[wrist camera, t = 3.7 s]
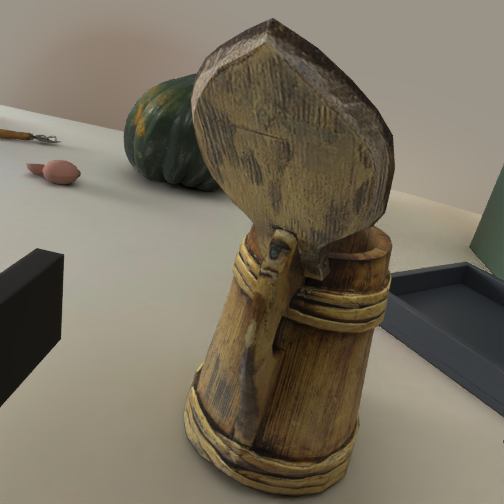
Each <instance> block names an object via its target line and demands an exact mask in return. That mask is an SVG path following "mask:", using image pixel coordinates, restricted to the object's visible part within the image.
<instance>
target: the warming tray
mask: <svg viewBox="0 0 504 504" xmlns="http://www.w3.org/2000/svg"><path fill="white" fill-rule="evenodd" d="M390 275H391V283H390V289H389V294H388V300H387V307H386V311H385V315H384V320H383V321H382V322H381V323H380V324H379V325H380V326H381V327H382V328H384V329H385V330H387V331H388V332H389V333H391V334H392V335H393V336H395V337H396V338H398V339H399V340H400V341H402V342H403V343H404V344H406V345H407V346H408V347H410V348H411V349H413V350H414V351H415V352H417V353H418V354H419V355H421V356H422V357H423V358H425V359H426V360H428V361H429V362H430V363H432V364H433V365H434V366H436V367H437V368H438V369H440V370H441V371H443V372H444V373H445V374H447V375H448V376H449V377H451V378H452V379H453V380H455V381H456V382H458V383H459V384H460V385H462V386H463V387H464V388H466V389H467V390H468V391H470V392H471V393H473V394H474V395H475V396H477V397H478V398H479V399H481V400H482V401H483V402H485V403H486V404H488V405H489V406H490V407H492V408H493V409H494V410H496V411H497V412H498V413H500V414H501V415H503V416H504V280H502V279H500V278H498V277H496V276H494V275H492V274H490V273H488V272H486V271H484V270H482V269H480V268H478V267H476V266H474V265H472V264H470V263H468V262H461V263H454V264H448V265H441V266H435V267H428V268H422V269H415V270H408V271H402V272H395V273H390Z"/></svg>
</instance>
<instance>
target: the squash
mask: <svg viewBox="0 0 504 504" xmlns="http://www.w3.org/2000/svg"><path fill="white" fill-rule="evenodd" d="M195 76H196V74H192V75H188V76H185V77H181V78H178V79H172V80H169V81H166V82H163V83H160V84H159V85H157V86H155V87H153V88H151V89H149V90H148V91H147V92H146V93H144V94H143V95H142V96H141V97H140V98H139V100H138V101H137V103H136V104H135V106H134V107H133V109H132V110H131V112H130V113H129V115H128V118H127V120H126V125H125V130H124V148H125V152H126V155H127V157H128V160H129V162H130V163H131V165H132V166H133V167H134V168H135V169H136V170H137V171H138V172H140V173H141V174H142V175H143V176H145V177H146V178H147V179H149V180H151V181H157V182H158V181H159V182H162V181H165V180H166V181H167V182H168V183H171V184H177V183H179V182H180V181H181V183H182V184H183V185H185V186H190V187H191V186H192V187H194V188H196V189H198V190H202V191H213V190H216V189H218V188H220V186H219V184H218V183H217V182H216V181H215V179H214V178H213V177H212V175H211V173H210V171H209V169H208V168H207V166H206V164H205V162H204V160H203V157H202V154H201V152H200V149H199V146H198V142H197V138H196V134H195V129H194V123H193V117H192V106H191V94H192V89H193V84H194V79H195Z"/></svg>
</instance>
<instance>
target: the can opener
mask: <svg viewBox="0 0 504 504" xmlns="http://www.w3.org/2000/svg"><path fill="white" fill-rule="evenodd" d="M41 136H44V135H36V136H33V134H30V133H24V132H15V131H10V130H3V129H0V138H6V139H21V140H29V141H30V140H33V138H34V139H37V140H39V141H42V142H48V143H58V142H59V141H56V140H55V141H51V140H49V138H56V137H55V136H50V137H46V136H45V137H41Z"/></svg>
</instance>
